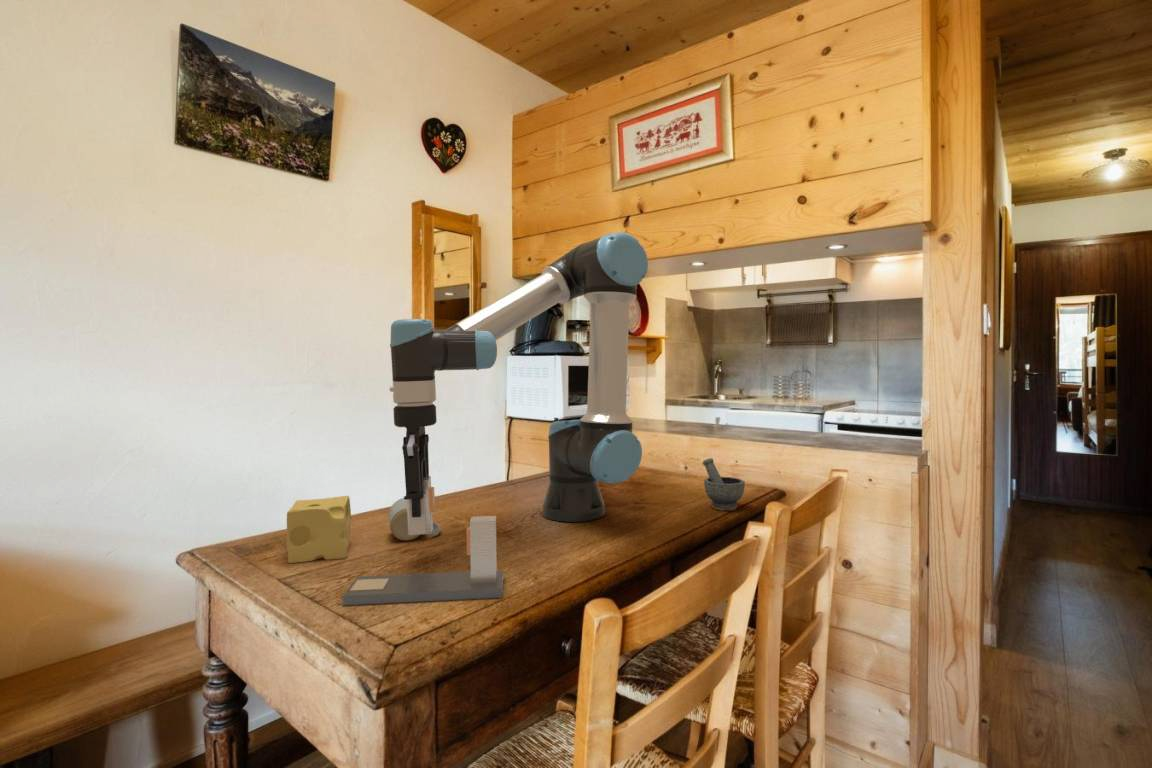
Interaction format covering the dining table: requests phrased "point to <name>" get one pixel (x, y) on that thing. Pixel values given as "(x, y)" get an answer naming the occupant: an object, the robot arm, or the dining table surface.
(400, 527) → the ceramic mug
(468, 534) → the rail
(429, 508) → the loose carton
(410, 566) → the dining table surface
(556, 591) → the dining table surface
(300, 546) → the cheese
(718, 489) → the mortar and pestle
